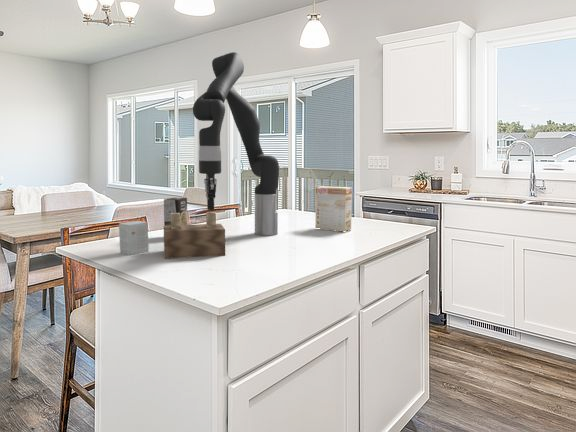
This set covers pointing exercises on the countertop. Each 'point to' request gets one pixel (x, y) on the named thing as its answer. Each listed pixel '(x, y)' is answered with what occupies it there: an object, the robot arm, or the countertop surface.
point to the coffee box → (175, 210)
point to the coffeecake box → (333, 208)
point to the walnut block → (194, 241)
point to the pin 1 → (175, 220)
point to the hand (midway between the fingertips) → (210, 209)
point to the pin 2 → (210, 219)
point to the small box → (133, 237)
